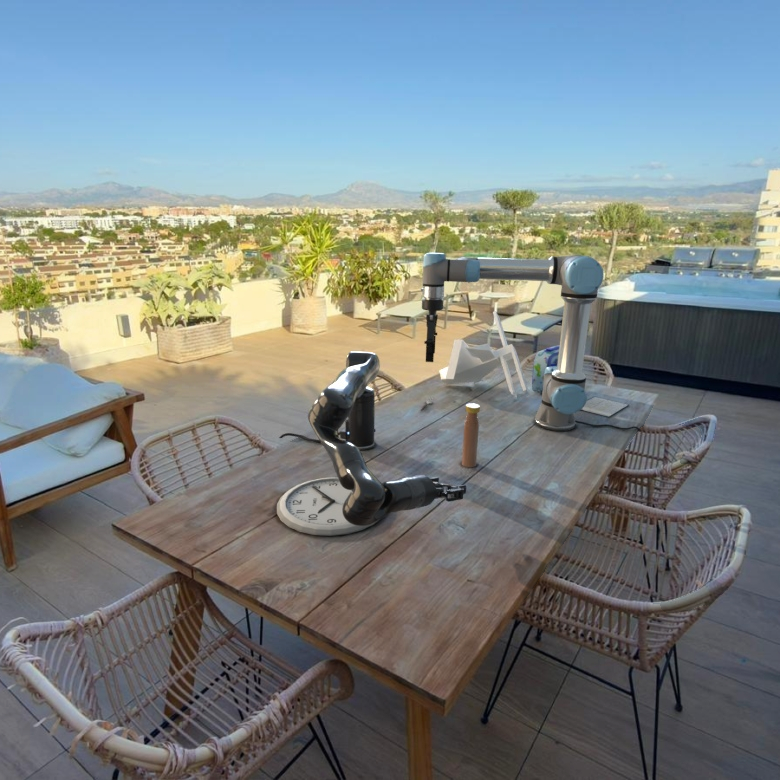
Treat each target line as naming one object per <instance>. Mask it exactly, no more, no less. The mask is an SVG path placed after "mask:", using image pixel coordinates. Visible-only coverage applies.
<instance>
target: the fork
mask: <svg viewBox="0 0 780 780" xmlns="http://www.w3.org/2000/svg"><path fill="white" fill-rule="evenodd" d="M434 399H435V396H429V397H428V398H427V399H426V403H425V404H424V405H423V406H422V407H421V409H420V411H423V410H424V409H426V408H427V407H428V405H430V404H433V402H434Z"/></svg>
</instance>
